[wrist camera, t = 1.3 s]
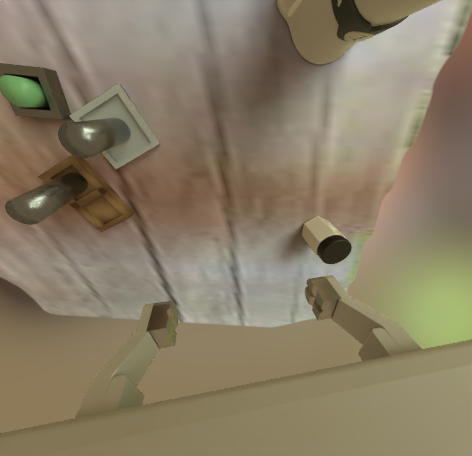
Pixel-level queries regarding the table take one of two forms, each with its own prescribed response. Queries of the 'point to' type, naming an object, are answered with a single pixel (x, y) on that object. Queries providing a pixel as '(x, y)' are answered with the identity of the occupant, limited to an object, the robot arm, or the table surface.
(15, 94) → the button
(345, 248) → the jar
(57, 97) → the switch box
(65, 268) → the table surface
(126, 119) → the square tray
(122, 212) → the tray
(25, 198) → the cylinder
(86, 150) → the cylinder
